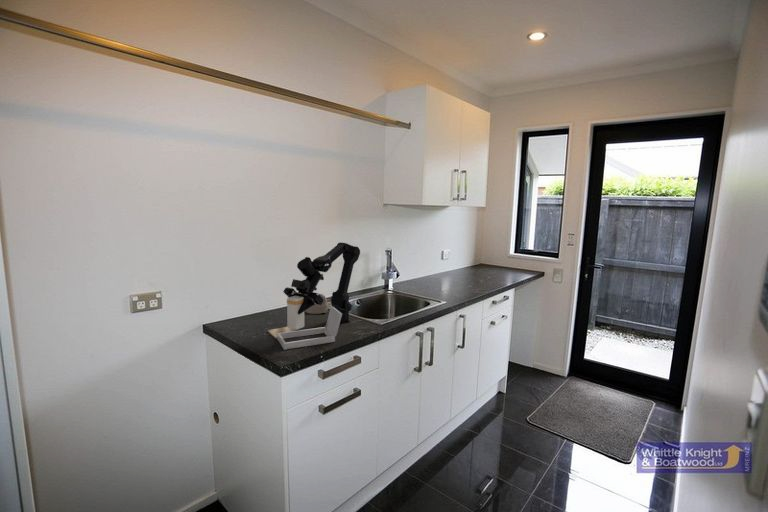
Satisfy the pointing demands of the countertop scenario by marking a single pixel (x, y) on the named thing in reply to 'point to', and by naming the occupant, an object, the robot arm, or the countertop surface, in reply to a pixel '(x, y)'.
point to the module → (294, 312)
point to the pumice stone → (319, 307)
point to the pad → (279, 331)
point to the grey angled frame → (313, 332)
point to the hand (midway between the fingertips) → (293, 312)
